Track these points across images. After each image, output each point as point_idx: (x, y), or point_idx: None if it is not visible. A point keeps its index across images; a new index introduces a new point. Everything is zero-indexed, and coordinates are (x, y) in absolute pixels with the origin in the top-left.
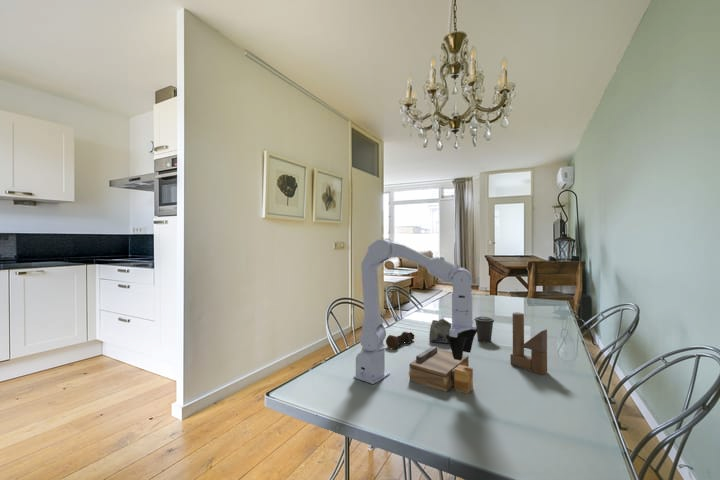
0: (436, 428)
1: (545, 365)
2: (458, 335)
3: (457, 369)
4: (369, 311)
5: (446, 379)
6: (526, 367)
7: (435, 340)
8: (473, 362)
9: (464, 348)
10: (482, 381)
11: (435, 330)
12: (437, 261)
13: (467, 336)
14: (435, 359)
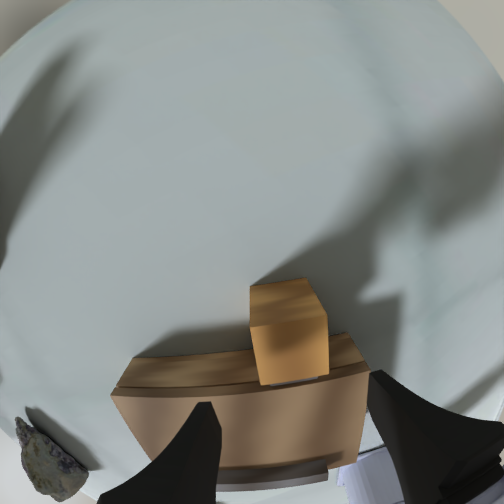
0: (500, 236)
1: None
2: (484, 481)
3: (325, 363)
4: None
5: (359, 357)
6: None
7: (77, 466)
8: (68, 367)
9: (217, 437)
10: (163, 287)
11: (68, 484)
12: None
13: (198, 498)
14: (260, 453)
